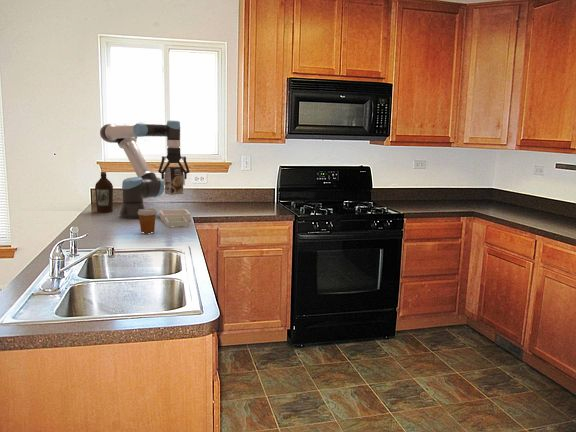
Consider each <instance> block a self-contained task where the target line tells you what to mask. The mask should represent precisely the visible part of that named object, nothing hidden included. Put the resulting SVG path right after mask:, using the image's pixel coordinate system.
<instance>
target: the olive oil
mask: <svg viewBox="0 0 576 432" xmlns="http://www.w3.org/2000/svg"><path fill="white" fill-rule="evenodd" d="M94 193H95V202H96V212H97V213H112V212H114V211H113V210H114V209H113V206H114V198H113V197H114V196H113V195H114V186H113V183H112V182H111V181H110V180H109V179H108V178H107V172H106V171H100V177H99V180H97V182H96V183H95V185H94Z"/></svg>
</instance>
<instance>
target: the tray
mask: <svg viewBox="0 0 576 432" xmlns="http://www.w3.org/2000/svg"><path fill="white" fill-rule="evenodd" d="M164 220H165V222H164V224H165V226H166V225H167V226H168V227H170V228H172V227H171V226H188V227H189V221H187V220H186V219H185V218H184V217H170V218H164ZM167 226H166V227H167ZM168 227H167V228H168Z"/></svg>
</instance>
